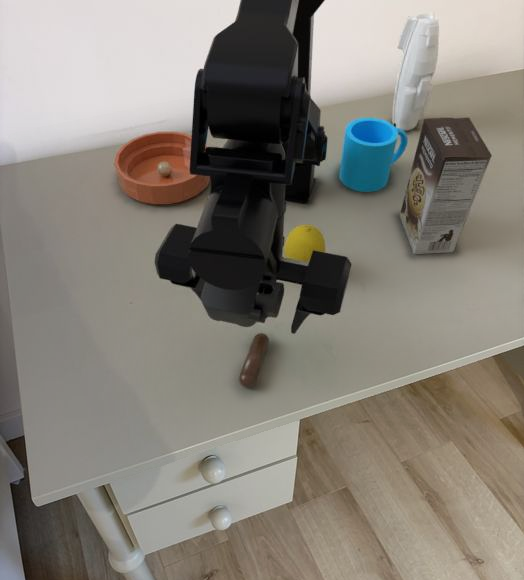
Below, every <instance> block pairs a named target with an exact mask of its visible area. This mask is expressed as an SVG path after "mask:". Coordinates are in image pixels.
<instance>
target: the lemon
mask: <svg viewBox="0 0 524 580" xmlns="http://www.w3.org/2000/svg"><path fill="white" fill-rule="evenodd" d="M283 250H284V251H283V252H284V258H289V259H294V260H299V261H304V262H309V261H310V258H311V255H312V252H313V250H314V251H320V252H325V253H326V241H325V238H324V236H323V233H322V232H321V231H320V230H319V228H317V227H315V226H313V225H311V224H300V225H297V226H295V227H294V228H293V229H292V230H291V231H290V232H289V234H288V236H287V237H286V240H285V242H284V248H283Z"/></svg>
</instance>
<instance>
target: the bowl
mask: <svg viewBox="0 0 524 580" xmlns="http://www.w3.org/2000/svg"><path fill="white" fill-rule="evenodd" d="M191 138H192V134H189V133H185V132H179V131H172V130H171V131H156V132H150V133H145V134H142V135H140V136H139V135H138V136H137V137H134V138H132V139H131V140H129V141H127V142H126V143H125V144H123V145H122V146H121V147H120V148H119V149H118V151H117V152H116V153H115V156H114V161H113V162H114V163H113V164H114V168H115V172H116V176H117V180H118V183H119V186H120V189H121V190H122V191H123V192H124V193H125V194H126V195H127V196H128V197H130V198H132V199H134V200H136V201H137V202H140V203H146V204H150V205H171V204H175V203H176V204H177V203H181V202H184V201H187V200H189V199H191V198H193V197H195V196H197V195H199V194H200V193H202V191H204V190H205V189H206V188H207V187H208V185H209V184H210V183H211V182H210V176H201V175H191V174H190V154H191ZM206 147H208V146H207V145H206ZM206 147H205V149H206ZM163 161H165V162H168V163H169V164H170V165H171V167H172V172H171V174H170V175H169V176H167V177H163V176H161V175H159V173H158V171H157V166H158V164H159V163H160V162H163Z"/></svg>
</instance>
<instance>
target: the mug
mask: <svg viewBox="0 0 524 580" xmlns="http://www.w3.org/2000/svg"><path fill="white" fill-rule="evenodd" d="M394 125H395V124H394ZM394 125H392V123H391V122H389V121H387V120H385V119H381V118H377V117H375V118H374V117H361V118H357V119H354V120H352V121H349V123H348V124H347V125H346V127H345V131H344V136H343V145H342V153H341V160H340V167H339V175H338V176H339V180H340V181H341V184H343V185H344V186H345V187H347V188H348V189H351V190H352V191H355V192H356V191H357V192H361V193H372V192H377V191H380V190H381V189H383V188H385V187H386V186H387V184H388V181H389V177H390V173H391V168H392V165H393V164H395V163H396V162H397V161H398V160H399V159H400V158H401V157H402V155H403V154H404V153H405V151H406V149H407V147H408V136H407V133H406V131H403V130H402V129H400V128H396V126H394ZM399 136H400V143H399V146H398V147H397V149H396V146H397V142H398V138H399Z"/></svg>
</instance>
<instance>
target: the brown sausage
mask: <svg viewBox="0 0 524 580" xmlns="http://www.w3.org/2000/svg"><path fill="white" fill-rule="evenodd" d="M269 344H270V338H269V336H268V335H267V334H266V333H264V332H259V333H257V334H255V335H254V337H253V339H252V342H251V344H250V346H249V350H248V351H247V355H246V358H245V360H244V363H243V366H242V368H241V370H240V373H239V376H238V382H239V384H240V386H242V387H243V388H246V389H247V388H252V387H253V386H254V385H255V384H256V381H257V378H258V375H259V372H260V370H261V367H262V363H263V361H264V358H265V355H266V353H267V349H268V347H269Z"/></svg>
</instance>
